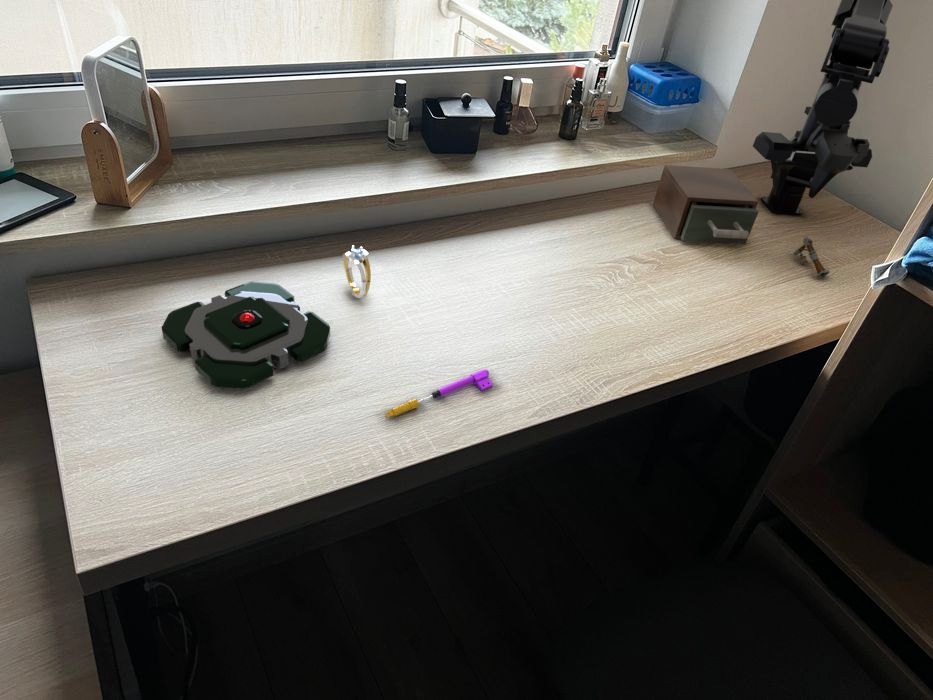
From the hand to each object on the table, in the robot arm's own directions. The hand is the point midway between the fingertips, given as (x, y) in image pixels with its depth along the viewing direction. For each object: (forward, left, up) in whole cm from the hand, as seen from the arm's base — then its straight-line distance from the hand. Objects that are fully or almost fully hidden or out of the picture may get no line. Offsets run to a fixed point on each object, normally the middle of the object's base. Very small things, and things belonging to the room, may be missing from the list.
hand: (793, 195), depth 126 cm
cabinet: (-11, -10, -12) cm, 19 cm away
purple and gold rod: (+41, -64, -12) cm, 77 cm away
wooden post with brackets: (+4, +6, -12) cm, 14 cm away
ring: (+18, -75, -12) cm, 78 cm away
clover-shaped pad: (+30, -89, -12) cm, 95 cm away
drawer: (-6, -10, -11) cm, 16 cm away
